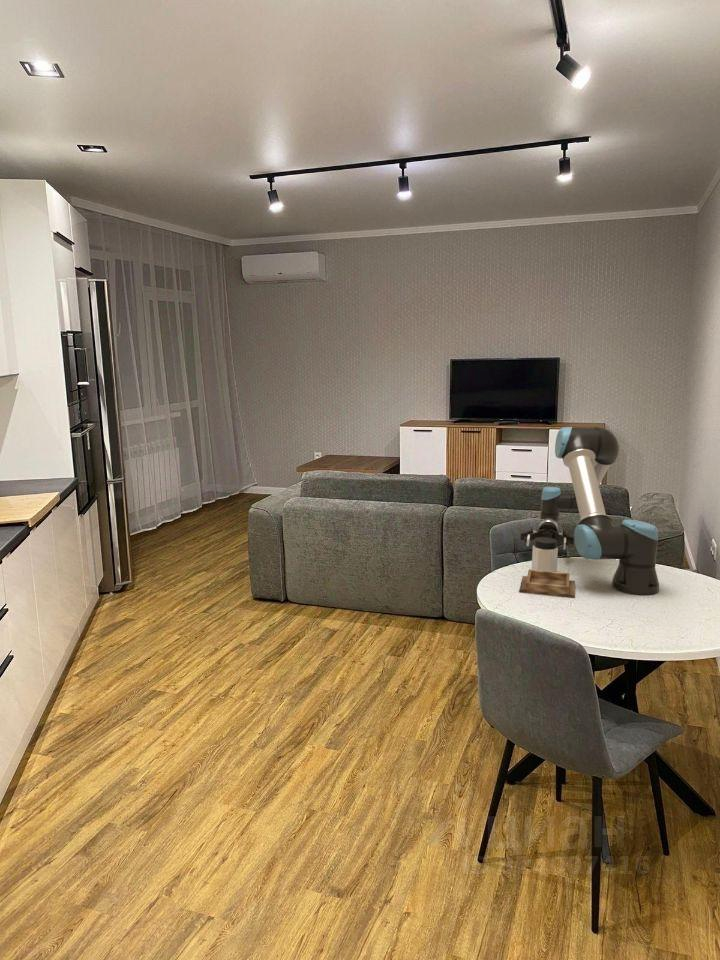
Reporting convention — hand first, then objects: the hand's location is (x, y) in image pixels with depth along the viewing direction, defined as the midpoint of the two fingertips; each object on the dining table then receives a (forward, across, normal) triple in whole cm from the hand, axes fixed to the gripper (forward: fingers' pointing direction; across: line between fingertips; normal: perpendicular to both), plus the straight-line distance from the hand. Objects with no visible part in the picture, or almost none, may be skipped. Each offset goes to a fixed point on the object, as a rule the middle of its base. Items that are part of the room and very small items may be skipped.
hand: (546, 544), depth 272 cm
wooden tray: (+28, -2, -7) cm, 29 cm away
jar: (+10, 0, -8) cm, 13 cm away
